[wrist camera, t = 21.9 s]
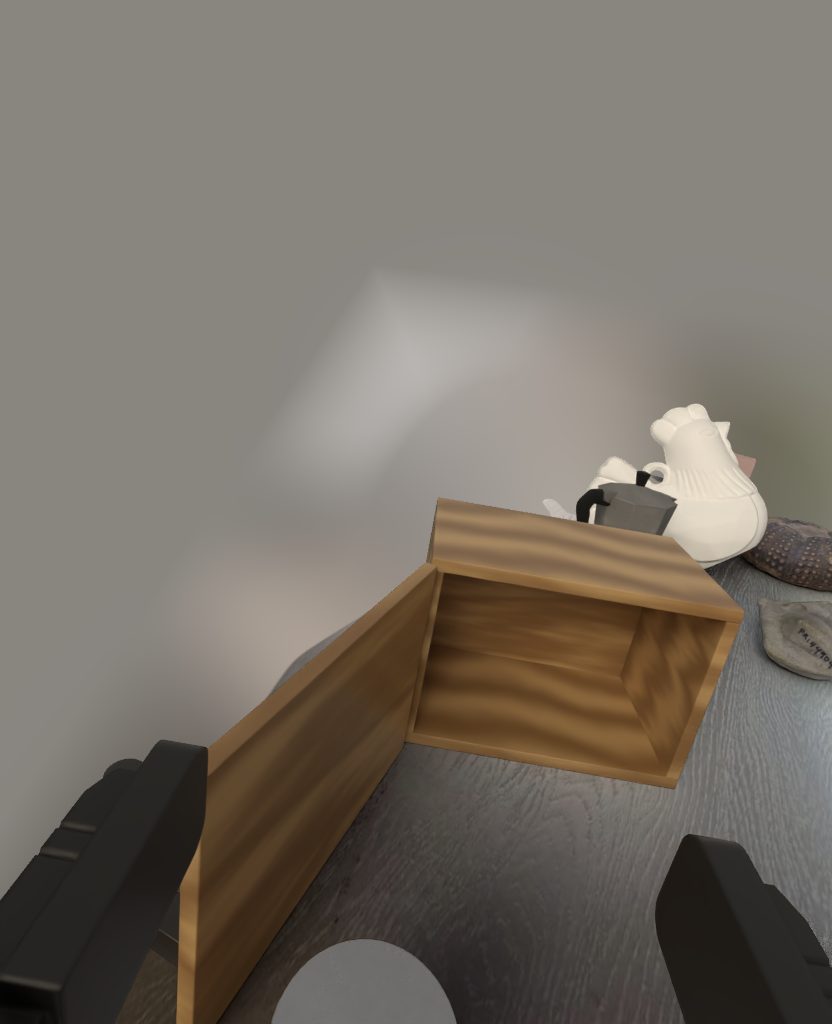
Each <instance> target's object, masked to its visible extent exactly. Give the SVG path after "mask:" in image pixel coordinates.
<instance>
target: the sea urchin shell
mask: <svg viewBox="0 0 832 1024" xmlns="http://www.w3.org/2000/svg"><path fill="white" fill-rule="evenodd" d="M741 555H742V556H743V557H744V558H745V560H746V561H748V562H749V563H751V564H753V565H754V566H755V567H756V568H759V569H760V570H763V571H764V572H768V573H769V574H771V575H773V576H774V577H776V578H778V579H780V580H783V581H786V582H789V583H791V584H794V585H799V586H804V587H809V588H812V589H818V590H829V591H832V532H830V531H829V530H828V529H826V528H823V527H821V526H819V525H816V524H814V523H810V522H804V521H799V520H796V521H792V520H789V519H786V518H779V517H768V519H767V527H766V530H765V533H764V535H763V537H762V539H761V540H760V542H759V543H758V544H757V545H756V546H755V547H753V548H751V549H750V550H748V551H746V552H743V553H741Z"/></svg>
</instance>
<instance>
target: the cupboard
mask: <svg viewBox="0 0 832 1024" xmlns="http://www.w3.org/2000/svg"><path fill="white" fill-rule="evenodd" d="M426 563H430V564H433V565H436V566H437V571H436V576H435V582H434V587H433V592H432V597H431V603H430V608H429V613H428V618H427V624H426V629H425V634H424V640H423V645H422V650H421V655H420V661H419V666H418V671H417V676H416V682H415V687H414V692H413V698H412V703H411V708H410V713H409V719H408V724H407V729H406V735H405V740H404V742H409V743H415V744H420V745H426V746H432V747H438V748H443V749H449V750H455V751H460V752H466V753H472V754H477V755H483V756H489V757H494V758H500V759H506V760H512V761H517V762H523V763H529V764H534V765H540V766H546V767H551V768H557V769H563V770H569V771H574V772H580V773H586V774H591V775H597V776H603V777H608V778H614V779H620V780H625V781H631V782H637V783H643V784H648V785H654V786H660V787H665V788H671V789H675V786H676V784H677V781H678V779H679V776H680V774H681V771H682V769H683V766H684V764H685V761H686V759H687V756H688V754H689V751H690V749H691V746H692V744H693V741H694V739H695V736H696V734H697V731H698V729H699V726H700V724H701V721H702V719H703V716H704V714H705V711H706V709H707V706H708V704H709V702H710V699H711V697H712V694H713V692H714V689H715V687H716V684H717V682H718V679H719V677H720V674H721V672H722V669H723V667H724V664H725V662H726V659H727V657H728V654H729V652H730V649H731V647H732V644H733V642H734V639H735V637H736V634H737V632H738V629H739V627H740V623H741V621H742V619H743V616H744V614H745V611H744V610H743V609H742V608H741V607H740V606H739V605H738V604H737V603H736V602H735V601H734V600H733V599H732V598H731V597H730V596H729V595H728V594H727V593H726V592H725V591H724V590H723V589H722V588H721V587H720V586H719V585H718V584H717V583H716V582H715V581H714V580H713V579H712V578H711V577H710V575H709V574H708V573H707V572H706V571H705V570H704V569H703V568H702V567H701V566H700V565H699V564H698V563H697V562H696V561H695V560H694V559H693V558H692V557H691V556H690V555H689V554H688V553H687V552H686V551H685V550H684V549H683V548H682V547H681V546H680V545H679V544H678V543H677V542H676V541H675V540H674V539H673V538H671V537H665V536H660V535H654V534H648V533H642V532H636V531H630V530H625V529H619V528H613V527H607V526H601V525H596V524H590V523H584V522H578V521H572V520H567V519H561V518H555V517H549V516H543V515H537V514H532V513H525V512H520V511H514V510H509V509H503V508H497V507H491V506H485V505H479V504H473V503H468V502H461V501H456V500H450V499H445V498H438V500H437V505H436V511H435V517H434V522H433V527H432V533H431V538H430V544H429V550H428V555H427V560H426Z"/></svg>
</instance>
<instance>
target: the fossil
mask: <svg viewBox="0 0 832 1024" xmlns="http://www.w3.org/2000/svg"><path fill="white" fill-rule="evenodd" d="M757 604H758V607H759V626H760V627H761V630H762V638H763V646H764V649H765V652H766V653H767V654H768V655H769V657H770V658H771V659H772V660H774V661H775V662H776V663H777V664H779V665H781V666H782V667H785V668H787V669H788V670H790V671H792V672H795V673H797V674H800V675H802V676H806V677H810V678H813V679H818V680H830V679H832V603H830V602H828V601H817V602H793V603H791V602H789V601H778V600H773V599H769V598H765V597H761V598H760V599H759V600H758V601H757Z"/></svg>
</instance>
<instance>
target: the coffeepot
mask: <svg viewBox="0 0 832 1024" xmlns="http://www.w3.org/2000/svg"><path fill="white" fill-rule="evenodd" d="M650 476H651V475H650V474H649V473H647V472H646V471H637V474H636V484H628V483H613V482H610V483H606V484H602V485H598V489H590V490H588V491H587V492H586V493H585V494H584V495H583V496H582V497H581V498H580V499H579V501H578V502H577V505H576V515H577V521H578V522H584V523H589V517H590V508H591V507H592V506H593V505H594V504H596V510H595V519H594V524H596V525H601V526H607V527H613V528H619V529H625V530H630V531H636V532H642V533H648V534H654V535H660V536H662V535H663V533H664V531H665V529H666V527H667V525H668V523H669V521H670V519H671V517H672V515H673V513H674V511H675V509H676V508H677V506H678V504H676V503H675V502H674V501H676V500H677V499H676V498H673V497H671V496H669V495H667V494H664V493H661V492H658V491H655V490H652V489H650V488H648V487H645V485H646V483H647V481H648V480H649V478H650Z"/></svg>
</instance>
